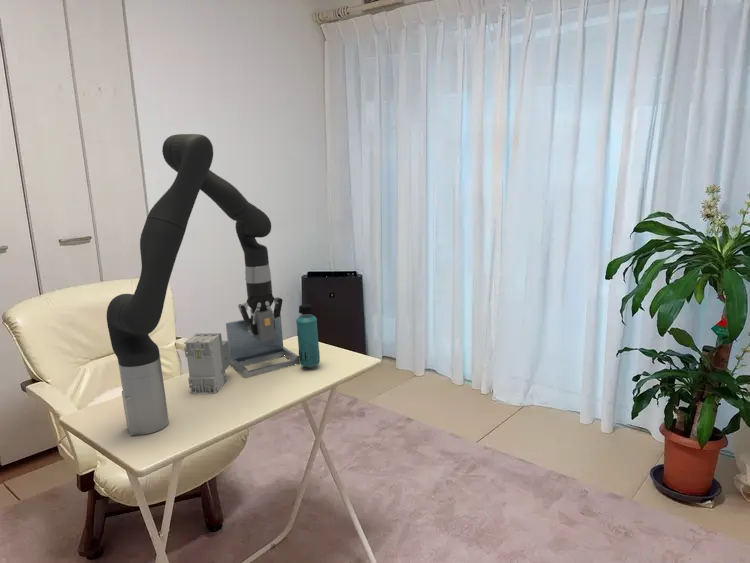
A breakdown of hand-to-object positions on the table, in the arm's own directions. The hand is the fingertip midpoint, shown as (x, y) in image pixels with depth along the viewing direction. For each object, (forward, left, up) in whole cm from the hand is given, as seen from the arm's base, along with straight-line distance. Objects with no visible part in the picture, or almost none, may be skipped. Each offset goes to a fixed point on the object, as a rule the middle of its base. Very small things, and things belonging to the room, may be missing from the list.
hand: (263, 332), depth 168 cm
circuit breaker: (-18, -3, -11) cm, 21 cm away
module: (0, 0, -2) cm, 2 cm away
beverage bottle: (+10, -10, -11) cm, 18 cm away
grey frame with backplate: (0, +1, -11) cm, 11 cm away
